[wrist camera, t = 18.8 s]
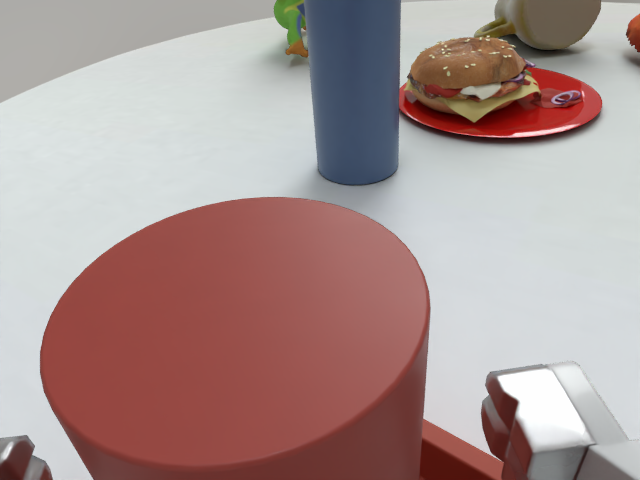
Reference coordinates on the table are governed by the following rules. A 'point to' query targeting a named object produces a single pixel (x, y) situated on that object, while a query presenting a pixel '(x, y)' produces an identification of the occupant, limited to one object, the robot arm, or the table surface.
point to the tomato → (634, 32)
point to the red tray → (454, 458)
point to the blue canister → (355, 87)
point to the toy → (292, 23)
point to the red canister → (245, 348)
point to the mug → (543, 21)
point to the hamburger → (492, 92)
